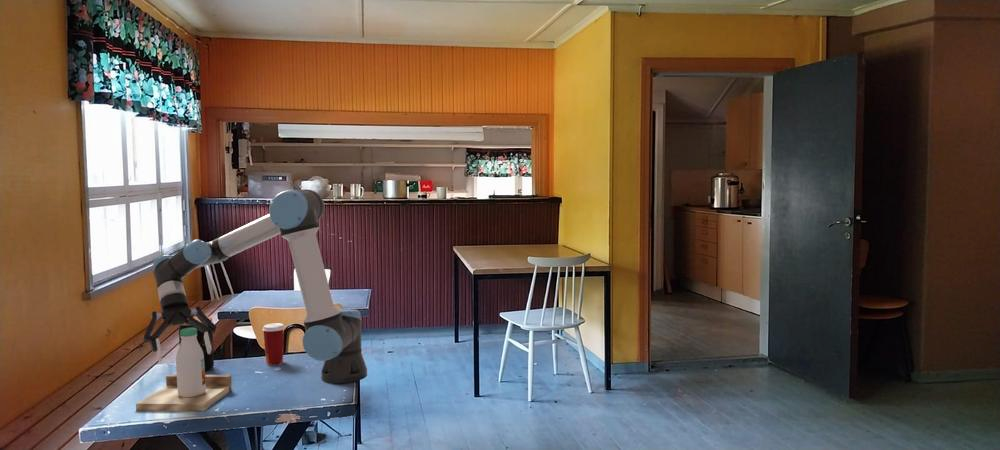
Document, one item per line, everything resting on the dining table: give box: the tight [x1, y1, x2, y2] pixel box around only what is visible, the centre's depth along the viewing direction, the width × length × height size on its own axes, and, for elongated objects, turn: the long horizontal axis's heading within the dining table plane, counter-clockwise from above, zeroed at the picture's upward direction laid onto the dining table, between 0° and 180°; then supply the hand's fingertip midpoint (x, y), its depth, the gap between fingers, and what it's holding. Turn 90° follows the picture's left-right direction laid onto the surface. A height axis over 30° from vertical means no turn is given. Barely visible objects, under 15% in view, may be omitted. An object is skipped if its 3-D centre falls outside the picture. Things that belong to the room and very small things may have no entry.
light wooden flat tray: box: [135, 373, 233, 412], centre depth 195 cm, size 20×18×5 cm
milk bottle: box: [175, 328, 206, 397], centre depth 194 cm, size 8×8×20 cm
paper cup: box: [262, 322, 286, 366], centre depth 233 cm, size 8×8×14 cm
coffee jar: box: [178, 316, 215, 373], centre depth 225 cm, size 11×11×18 cm
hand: (185, 355), depth 192 cm, fingers open, 13 cm apart
